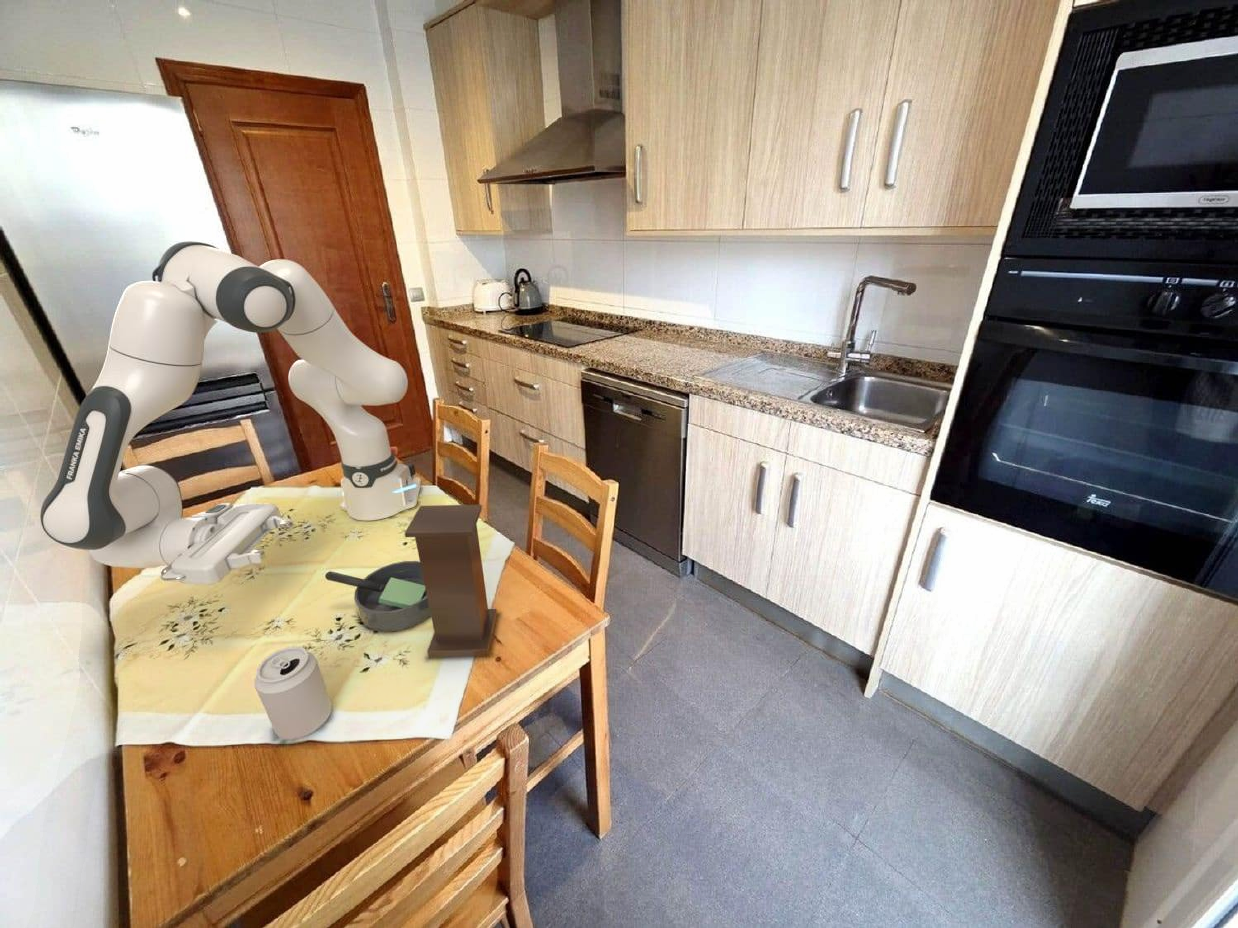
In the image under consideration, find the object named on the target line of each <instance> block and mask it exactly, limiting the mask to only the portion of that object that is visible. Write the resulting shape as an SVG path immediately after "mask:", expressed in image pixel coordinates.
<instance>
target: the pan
mask: <svg viewBox="0 0 1238 928" xmlns="http://www.w3.org/2000/svg"><path fill="white" fill-rule="evenodd" d="M391 577H392V578H396V579H400V580H404V581H408V582H412V583H416V584H420V585H424V586H425V584H424V579H423V574H422V569H421V564H420V560H404V561H399V562H394V563H393V562H392V563H390V564H387V565H385V566H382V567H379V568H378V569H376V570H375V571H372V572H370V573H369V574H367V575H366V577H365V578H363V579H365V580H369V581H373V582H377V583H381V584H384V585H385V587H386V585H387V584H388V582H389V580H390V578H391ZM382 593H383V592H377V591H372V590H368V589H364V588H360V587H356V589H355V590H354V596H353V600H354V603H355V607H356V610H357V613H358V617H359V619H360V621H361V623H362V624H363V625H364V626H365V627H367V628H368V629H370V630H373V631H377V632H383V633H390V632H399V631H403V630H407V629H410V628H413V627H414V626H417V625H419V624H421V623H422V622H425V621H426V620H427V619H429V618H431V613H430V608H429V603H428V598H427V594H426V591H425V593H424V596H423V598H422V599H421V600H420V601H418V602H417V603H415V604H412V605H410V606H408V607H405V608H399V607H395V606H391V605H386V604H382V603H379V598H380V596H381V594H382Z"/></svg>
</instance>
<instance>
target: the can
mask: <svg viewBox="0 0 1238 928" xmlns="http://www.w3.org/2000/svg"><path fill="white" fill-rule="evenodd" d="M254 688H255V690H256V693H257V695H258V697H259V699H260V701H261V704H262V706H263V708H264V710H265V712H266V715H267V717H268V719H269V722H270V725H271V726H272V728H273V731H274V733H275V734H276V736H277V737H278V738H281V739H284V740H295V739H300V738H303V737H306V736H308V735H311V734H312V733H314V732H316V731H317V730H318V729H319V728H320V727H321V726H323V724H325V722H327V720H328V718H329V717H330V715H331V713H332V710H333V704H332V699H331V696H330V694H329V691H328V688H327V685H326V682H325V680H324V677H323V674H322V670H321V669H320V666H319V663H318V660H317V657H316V656H315V654H314V653H313V652H310V651H309V650H307V649H306V648H305V647H303V646H296V645H295V646H289V647H287V646H286V647H284V648H280V649H278V650H277V651H274V652H273V653H271V654H269V655H267V657H265V658H264V659H263V660H262V661H261V663H260V664H259V665H258V667H257V669H256V676H255V678H254Z"/></svg>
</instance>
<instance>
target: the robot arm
mask: <svg viewBox="0 0 1238 928" xmlns="http://www.w3.org/2000/svg"><path fill="white" fill-rule="evenodd" d="M156 279H157V281H156ZM218 320H219V321H221V322H224V323H227V324H229V325H230V326H232V327H234V328H236V329H239V330H240V331H245V332H249V333H255V334H256V333H257V334H264V333H268V332H271V331H275V330H277V331H278V332H279V333H280V335H281V336H282V337H283V338H284V341H286V342H287V344H288V345H289V346H290V347H291V349H292V351H293V352H294V353H295V355H297V356H298V357H299V359H298V360H296V361H295V362H294V363H293V364H292V365H291V367H290V369H289V371H288V378H287V379H288V385H289V388H290V390H291V392H292V393H293V395H294V396H295V397H296V398H297V399H298V400H300V401H301V402H303V403H305V404H307V406H308V405H309V406H310V407H311V408H312V409H314V410H315V411H316V412H317V413H318V415H320V416H321V418H323V420H324V422H326V424H327V426H328V427H329V428H330V430H331V431H332V434H333V435H334V438H335V441H336V445H337V448H338V450H339V454H340V457H341V460H340V469H341V471H342V474H343V477H342V478H341V480H340V485H341V491H342V493H341V494H342V497H343V501H342V502H341V503H340V505H339V506H340V509H341V510H343V511H345V512H347V514H348V516H349V517H350V518H352V519H354V520H357V521H364V522H365V521H367V522H368V521H378V520H383V519H386V518H390V517H392V516H394V515H397V514H399V513H401V512H404V511H405V510H409V509H412V508H415V507H416V506H417V504H418V498H419V495H420V489H421V485H422V479H421V478H420V477H417V476H415V475H416V468H415V467H416V466H415V464H414V463H409V462H400V461H397V457H396V456H395V455H398V450H399V449H398V447H397V446H391V445H390V440H389V435H388V429H387V427H386V425H385V423H384V422H383V421H382V420H381V419H380V418H378V417H376V416H375V415H372V414H371V413H369V412H368V411H366V409H365V408H364V407H363V406H373V407H374V406H375V407H377V406H378V407H379V406H384V405H385V406H386V405H391V404H395V403H399V402H400V401H401V400H403V398H404V397H405V395H406V393H407V391H408V387H409V386H408V385H409V380H408V377H407V376H408V375H407V373H406V371H405V368H403V367H402V365H401V364H400V363H399V362H398V361H396V360H393V359H391V358H388V357H386V356H385V355H384V356H383V355H381V353H378V352H377V351H375V350H373V349H372V348H370V347H369V346H368V345H366V344H365V343H364V342H363V341H361V339H359V338H358V337H357V336H356V335H354V333H352V332H351V330H350V328H348V327H347V325H346V323H345V322H344V320H343V319H342V318H341V316H340V315H339V313H338V311H337V310H336V308H335V307H334V305H333V303H332V301H331V300H330V298H329V297H328V296H327V294H326V293H325V291H324V290H323V288H322V287H321V286H320V285H319V284H318V282H317V281H316V280H315V279H314V278H313V276H312V275H311V274H310V273H309V272H308V270H306V268H305V267H304V266H302V265H301V264H299V263H297V262H295V261H293V260H290V259H283V258H281V259H280V258H279V259H277V258H276V259H273V260H268V261H266V262H264V263H263V264H261V265H256V264H255V263H253V262H251V261H249V260H247V259H246V258H244V257H241V256H239V255H236V254H234V253H231V252H228V251H225V250H223V249H219V248H218V247H216V246H214V245H213V244H209V243H205V242H200V241H190V240H188V241H185V240H184V241H180V242H177V243H175V244H173V245H171V246H170V247H169V248H167V249H166V251H165V252H163V254H162V256H161V257H160V259H159V260H158V266H156V267H155V268H154V270H152V273H151V280H143V281H138V282H135V283H132V284H130V285H128V286H127V287H126V288H125V289H124V291H123V293H122V295H121V297H120V300H119V302H118V305H117V307H116V310H115V313H114V315H113V320H112V323H111V324H112V325H111V328H110V334H109V340H108V347H107V352H106V353H107V354H106V357H105V360H104V362H103V367H102V369H101V371H100V373H99V376H98V378H97V380H96V382H95V383H94V385H93V386H92V388H91V390H90V391H89V392H88V393H87V395H86V396H85V397H84V399H83V400H82V401H81V404H80V406H79V408H78V411H77V413H76V416H75V419H74V422H73V425H72V429H71V432H70V435H69V439H68V442H67V446H66V448H65V449H66V450H65V453H64V456H63V460H62V462H61V463H62V464H61V466H60V471H59V474H58V477H57V480H56V481H55V484H54V486H53V487H52V489H51V490H50V492H49V493H48V494H47V496H46V497H45V499H44V500H43V502H42V505H41V509H40V515H39V516H40V523H41V527H42V530H43V531H44V532H45V534H46V535H47V536H48V537H49V538H50V539H52V540H53V541H55V542H56V543H58V544H60V545H63V546H66V547H68V548H72V549H77V550H84V551H85V550H86V551H87V553H88V554H89V556H90V557H91V558H92V559H93V560H95V562H97V563H100V564H103V565H106V566H109V567H115V568H120V569H121V568H123V569H154V568H155V569H156V568H160V567H163V566H164V568H163V569H162V571H160V579H161V580H162V581H164V582H177V581H178V583H181V584H186V585H196V586H212V585H215V584H218V583H220V582H222V581H223V580H224V579H225V578H226V577H227V576H228V575H229V574H230V573H231V571H233V570H235V569H241V568H243V567H247V566H249V565H252V564H262V562H263V561H264V560H265V559H266V558H267V555H266V552H265V551H264V550H263V549H255V548H256V547H257V546H258V545H259V544H260V543H261V542H262V540H264V539H265V538H266V537H267V536H268V534H270V532H272V530H277V529H280V531H281V532H282V533H287V532H288V533H290V532H291V531H292V530H293V529H294V528H295V526H296V525H295V522H294V520H292V519H283V517H282V514H281V511H280V509H279V506H277V505H276V504H274V503H269V502H268V503H267V502H247V503H240V504H236V505H233V503H232V502H221V503H218V504H217V505H215V506H213V507H211V508H208V509H206V510H205V511H201V512H198V513H195V514H192V515H190V516H188V517H187V516H186V517H183V515H184V509H183V508H184V505H183V498H182V491H181V488H180V485H179V483H178V481H177V480H176V478H175V477H174V476H173V475H172V474H170V473H169V472H167V471H166V470H164V469H162V468H160V467H157V466H155V465H150V464H139V465H136V466H133V467H129V468H127V469H124V470H123V469H122V470H121V468H122V465H123V462H124V458H125V454H126V451H127V448H128V446H129V444H130V442H131V441H132V439H134V437H135V436H136V435H137V434H138V433H139V432H140V431H141V430H142V429H143V428H145V427H146V426H147V425H149V424H150V423H152V422H153V421H155V420H156V419H158V418H160V417H161V416H164V415H165V414H166V413H169V412H171V411H172V410H175V409H176V408H179V406H181V405H183V404H185V403H186V402H187V401H188V400H189V399H190V398H191V397H192V395H193V393H194V392H195V390H196V388H197V385H198V383H199V380H200V376H201V373H202V372H201V371H202V365H203V359H204V351H205V341H206V338H207V336H208V334H209V332H210V330H212V328H213V327H214V326H215V325H216V324H217V323H218Z"/></svg>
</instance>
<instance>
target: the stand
mask: <svg viewBox="0 0 1238 928" xmlns="http://www.w3.org/2000/svg"><path fill="white" fill-rule="evenodd" d="M482 510H483V505H482V504H444V505H443V504H439V505H438V504H437V505H434V504H433V505H420V506H419V508H418V509H417V510H416V513H415V514H414V515H413V518H412V519H411V521H410V523H409V525H408V527H407V528H406V530H405V531H404V537H405V538H414V539H415V544H416V549H417V554H418V558H419V562H420V564H421V569H422V574H423V579H424V584H425V589H426V594H427V598H428V603H429V608H430V613H431V616H430V618H431V622H432V628H433V635H432V637H431V640H430V644H429V646H428V648H427V657H428V659H447V658H449V659H450V658H475V657H477V658H478V657H480V658H481V657H489V654H490V653H489V652H490V648H491V643H492V640H493V636H494V631H495V626H496V622H497V618H498V611H497V608H489V605H488V604H489V603H488V597H487V590H486V583H485V576H484V568H483V561H482V555H481V547H480V539H479V533H478V525H477V523H478V521H479V518H480V516H481V513H482Z"/></svg>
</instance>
